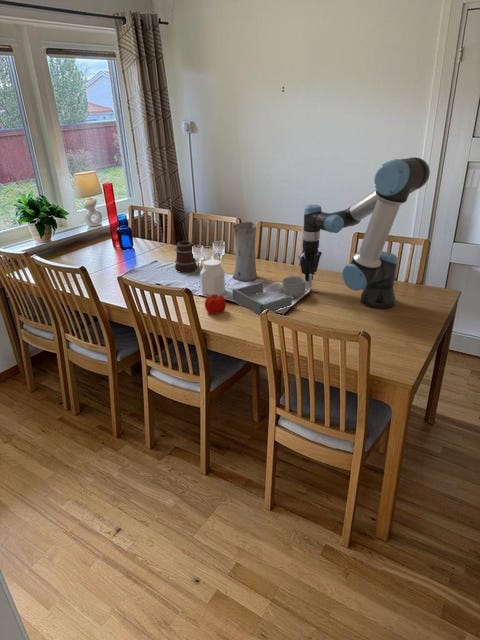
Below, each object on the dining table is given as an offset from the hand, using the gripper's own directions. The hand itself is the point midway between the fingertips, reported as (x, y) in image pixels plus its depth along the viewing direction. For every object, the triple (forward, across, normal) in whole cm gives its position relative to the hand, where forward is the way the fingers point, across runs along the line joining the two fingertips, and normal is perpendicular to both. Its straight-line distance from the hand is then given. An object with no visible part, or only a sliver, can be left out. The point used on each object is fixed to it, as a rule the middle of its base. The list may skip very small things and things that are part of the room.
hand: (308, 286), depth 214 cm
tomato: (+2, +50, -4) cm, 50 cm away
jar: (+2, +39, -25) cm, 46 cm away
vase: (+2, +16, -32) cm, 35 cm away
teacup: (+2, +10, 0) cm, 10 cm away
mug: (+2, +32, -63) cm, 71 cm away
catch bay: (+2, +28, 0) cm, 28 cm away
